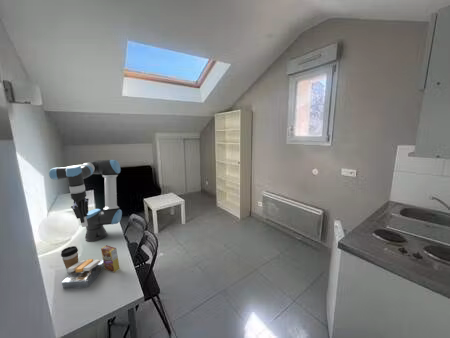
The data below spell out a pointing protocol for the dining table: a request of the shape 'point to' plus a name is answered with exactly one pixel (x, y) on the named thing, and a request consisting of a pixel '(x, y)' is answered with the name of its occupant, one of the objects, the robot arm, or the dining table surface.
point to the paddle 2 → (92, 265)
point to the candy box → (110, 258)
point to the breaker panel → (82, 277)
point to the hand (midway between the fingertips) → (84, 226)
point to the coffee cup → (69, 256)
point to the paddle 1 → (75, 266)
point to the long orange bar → (83, 265)
